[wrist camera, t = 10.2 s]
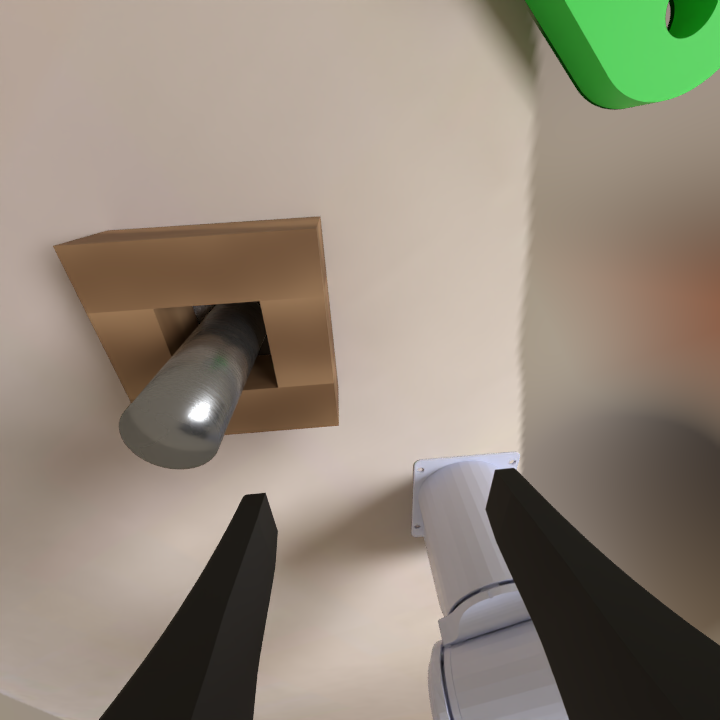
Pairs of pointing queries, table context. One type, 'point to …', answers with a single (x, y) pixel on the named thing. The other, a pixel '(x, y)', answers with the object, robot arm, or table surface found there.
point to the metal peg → (196, 390)
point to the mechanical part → (632, 46)
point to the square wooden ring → (216, 286)
